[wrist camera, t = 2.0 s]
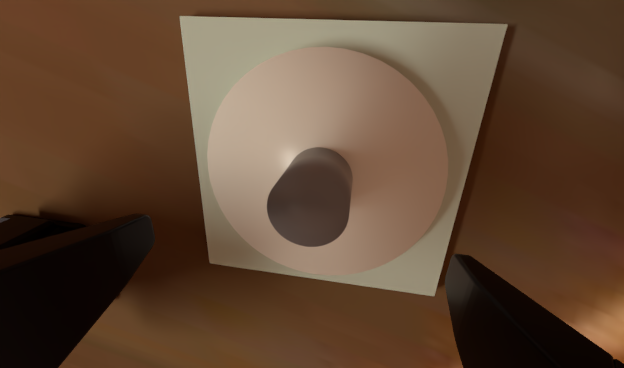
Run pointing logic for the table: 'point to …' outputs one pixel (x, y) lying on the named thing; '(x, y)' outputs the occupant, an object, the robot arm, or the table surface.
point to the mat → (378, 44)
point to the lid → (327, 161)
